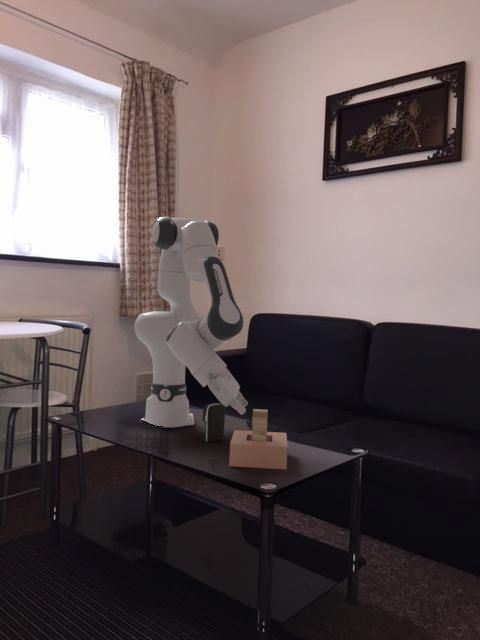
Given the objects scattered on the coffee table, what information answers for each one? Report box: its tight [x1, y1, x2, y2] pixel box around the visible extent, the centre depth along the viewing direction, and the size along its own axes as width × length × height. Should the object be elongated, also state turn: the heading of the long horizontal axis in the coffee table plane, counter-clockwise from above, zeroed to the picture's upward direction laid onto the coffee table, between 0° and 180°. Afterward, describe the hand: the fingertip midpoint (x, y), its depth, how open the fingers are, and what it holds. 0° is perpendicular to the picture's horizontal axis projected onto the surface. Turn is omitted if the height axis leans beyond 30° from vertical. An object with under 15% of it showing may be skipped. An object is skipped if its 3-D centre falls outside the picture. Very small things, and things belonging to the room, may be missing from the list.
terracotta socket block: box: [228, 429, 288, 470], centre depth 148 cm, size 15×15×6 cm
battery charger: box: [201, 402, 226, 443], centre depth 167 cm, size 7×4×11 cm, turn 134°
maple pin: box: [251, 408, 268, 442], centre depth 148 cm, size 4×4×12 cm
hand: (245, 409), depth 148 cm, fingers open, 8 cm apart
